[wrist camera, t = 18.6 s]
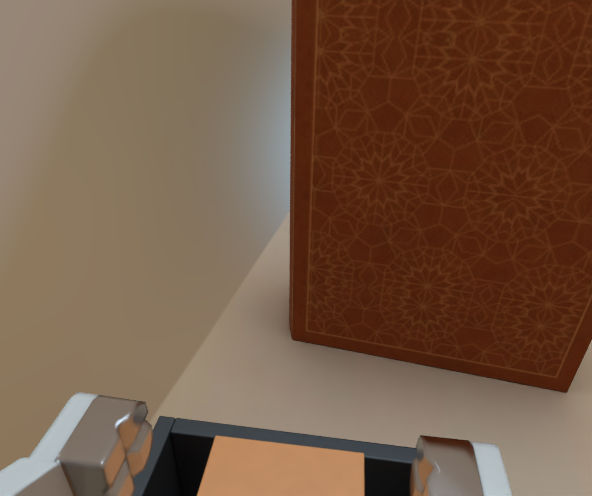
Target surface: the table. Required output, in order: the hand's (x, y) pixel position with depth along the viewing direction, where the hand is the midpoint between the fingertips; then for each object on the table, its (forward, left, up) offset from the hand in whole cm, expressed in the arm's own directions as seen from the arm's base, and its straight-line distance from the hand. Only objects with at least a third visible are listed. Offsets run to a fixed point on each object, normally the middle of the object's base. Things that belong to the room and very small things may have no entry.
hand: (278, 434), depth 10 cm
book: (+8, +26, -19) cm, 33 cm away
